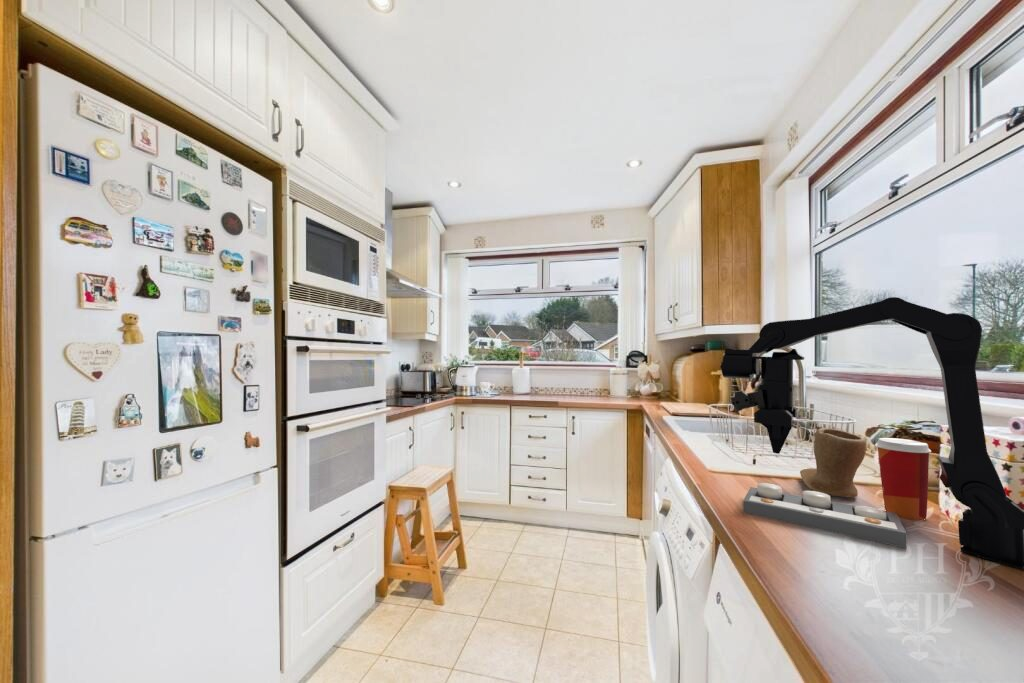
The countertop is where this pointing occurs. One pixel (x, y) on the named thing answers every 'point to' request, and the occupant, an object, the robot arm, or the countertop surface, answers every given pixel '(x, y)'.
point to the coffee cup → (904, 476)
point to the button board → (827, 518)
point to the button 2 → (870, 513)
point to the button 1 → (769, 491)
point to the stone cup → (835, 462)
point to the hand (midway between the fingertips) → (776, 453)
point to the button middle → (816, 499)
